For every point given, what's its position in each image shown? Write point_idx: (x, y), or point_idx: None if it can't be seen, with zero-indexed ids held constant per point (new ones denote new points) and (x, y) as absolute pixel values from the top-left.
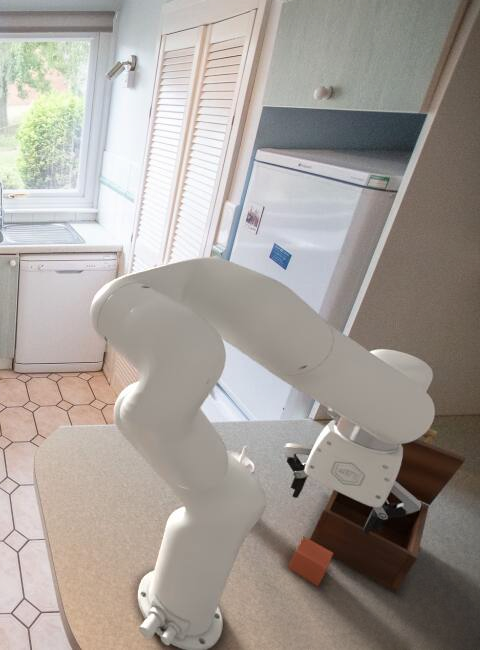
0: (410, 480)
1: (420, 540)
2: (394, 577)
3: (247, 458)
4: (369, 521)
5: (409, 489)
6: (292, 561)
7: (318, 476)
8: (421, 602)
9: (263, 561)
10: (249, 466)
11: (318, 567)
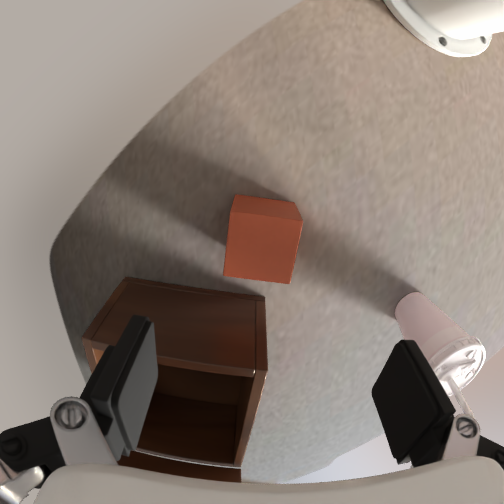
0: None
1: None
2: (122, 294)
3: None
4: (126, 368)
5: (142, 466)
6: (295, 209)
7: (465, 497)
8: (96, 282)
9: (341, 186)
10: None
11: (247, 209)
